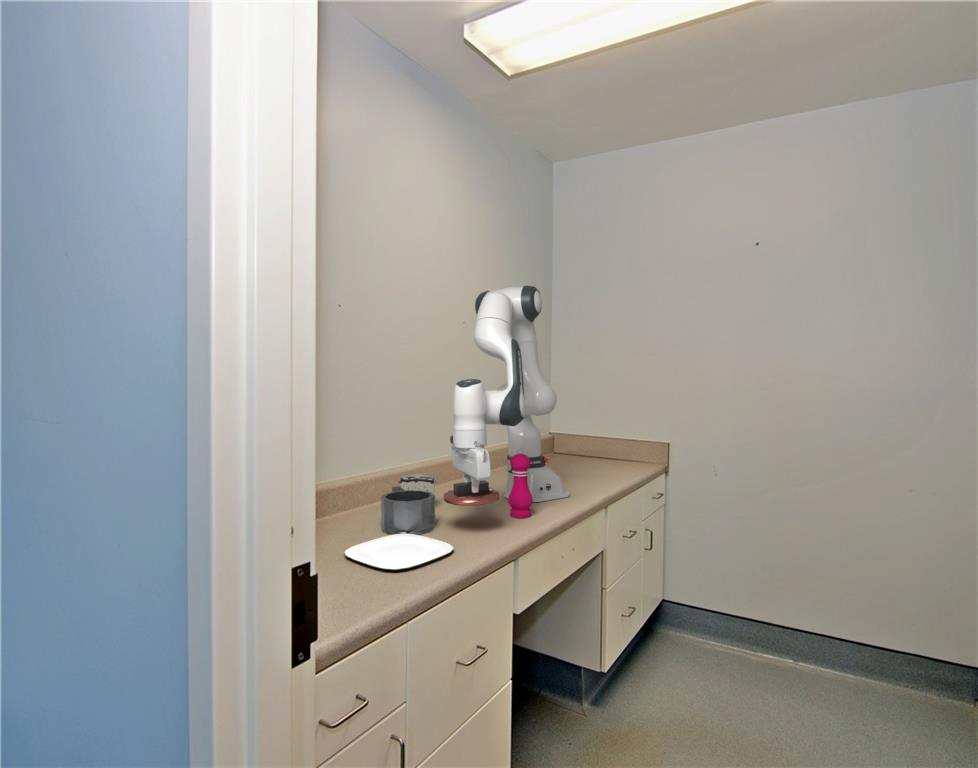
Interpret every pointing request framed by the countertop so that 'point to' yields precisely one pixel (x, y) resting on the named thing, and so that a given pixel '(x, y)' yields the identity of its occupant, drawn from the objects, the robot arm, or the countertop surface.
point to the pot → (407, 512)
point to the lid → (471, 494)
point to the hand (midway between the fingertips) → (471, 490)
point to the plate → (398, 551)
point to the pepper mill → (520, 487)
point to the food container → (418, 482)
